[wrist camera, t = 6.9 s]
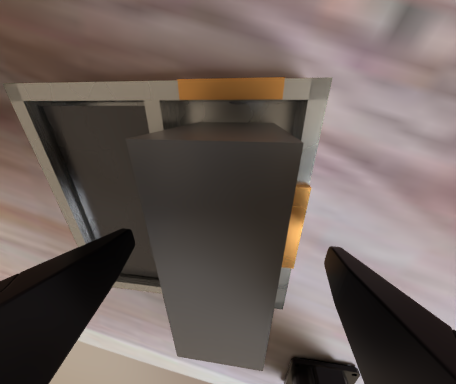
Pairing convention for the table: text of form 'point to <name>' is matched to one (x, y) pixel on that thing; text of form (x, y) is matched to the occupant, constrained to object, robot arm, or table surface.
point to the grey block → (218, 231)
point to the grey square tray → (144, 124)
